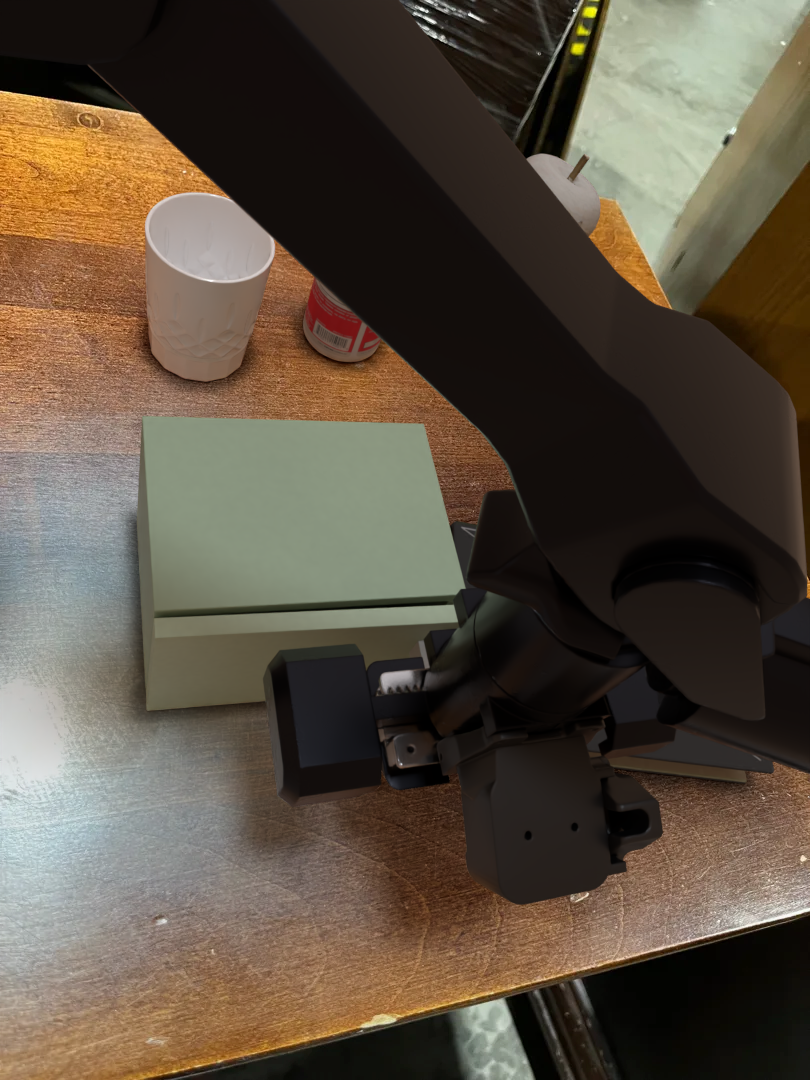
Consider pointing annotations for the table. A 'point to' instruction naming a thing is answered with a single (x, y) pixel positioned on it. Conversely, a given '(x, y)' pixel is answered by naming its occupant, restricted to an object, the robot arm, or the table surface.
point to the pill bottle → (336, 328)
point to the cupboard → (288, 518)
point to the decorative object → (570, 188)
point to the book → (673, 759)
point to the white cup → (203, 283)
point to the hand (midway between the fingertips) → (425, 754)
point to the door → (272, 648)
